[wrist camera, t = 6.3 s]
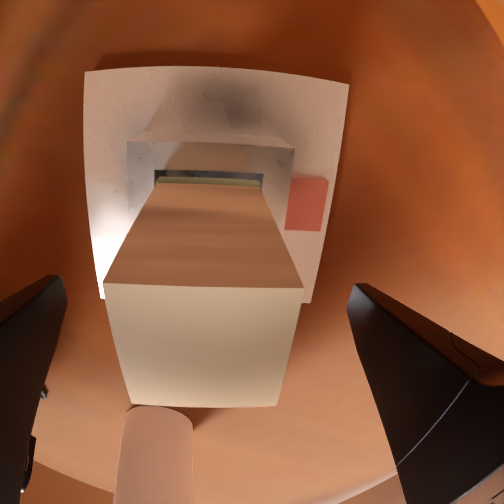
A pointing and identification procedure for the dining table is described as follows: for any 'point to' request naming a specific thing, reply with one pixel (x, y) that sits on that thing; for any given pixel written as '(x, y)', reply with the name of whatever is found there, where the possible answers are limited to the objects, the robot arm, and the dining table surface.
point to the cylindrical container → (155, 458)
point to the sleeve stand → (212, 147)
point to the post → (203, 297)
